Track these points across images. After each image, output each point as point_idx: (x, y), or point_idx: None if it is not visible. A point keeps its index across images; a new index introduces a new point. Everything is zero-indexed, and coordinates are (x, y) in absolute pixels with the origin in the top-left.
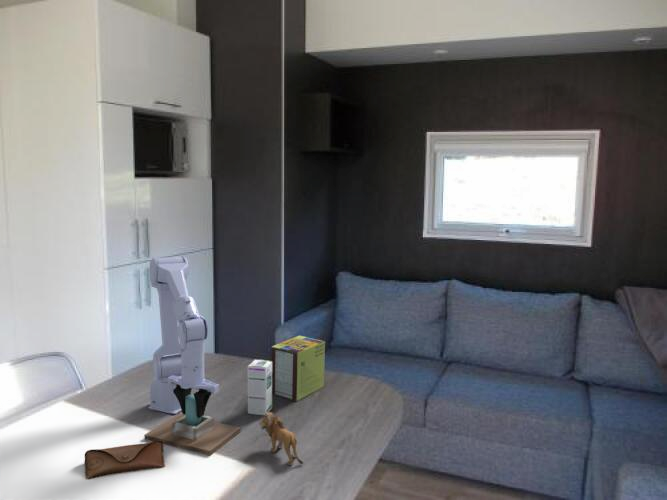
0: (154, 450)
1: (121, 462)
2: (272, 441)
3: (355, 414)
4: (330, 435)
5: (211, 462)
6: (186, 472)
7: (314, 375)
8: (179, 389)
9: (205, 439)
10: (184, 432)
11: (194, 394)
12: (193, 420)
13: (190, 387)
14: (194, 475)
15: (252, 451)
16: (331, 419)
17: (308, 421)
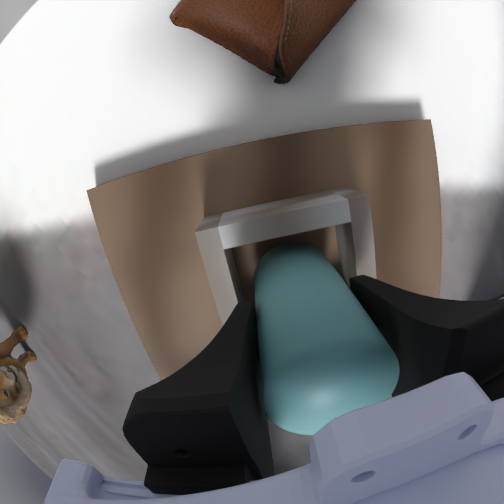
0: (247, 4)
1: None
2: (2, 343)
3: None
4: (38, 428)
5: (61, 160)
6: (80, 58)
7: None
8: (479, 364)
9: (179, 247)
10: (278, 206)
11: (212, 404)
12: (267, 275)
13: (296, 478)
14: (50, 71)
15: (42, 301)
16: None
17: (111, 461)
